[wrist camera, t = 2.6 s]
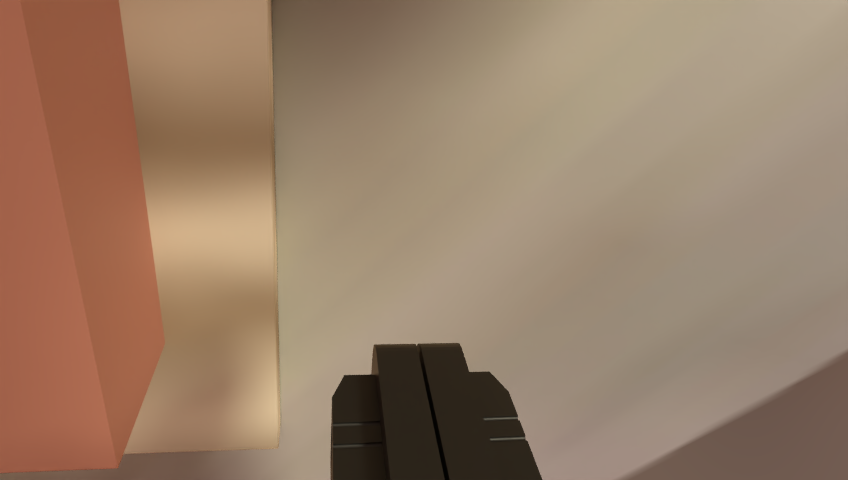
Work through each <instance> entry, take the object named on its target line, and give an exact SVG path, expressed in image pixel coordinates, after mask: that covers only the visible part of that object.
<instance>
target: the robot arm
mask: <svg viewBox="0 0 848 480" xmlns="http://www.w3.org/2000/svg"><path fill="white" fill-rule="evenodd" d="M331 480H542V478H541V475H540V473H539V470H538V467H537V465H536V462H535V459H534V457H533V454H532V452H531V449H530V446H529V444H528V441H526V440H525V433H524V431H523V428H522V426H521V423H520V420H518V415H517V412H516V410H515V407H514V405H513V402H512V399H511V397H510V394H509V392H508V391H507V390H506V389H505V388H504V386H503V385H502V384H501V383H500V382H499V381H498V380H497V379H496V378H495V377H494V376H493V375H492V374H491V373H490V372H469V370H468V367H467V364H466V360H465V357H464V354H463V351H462V348H461V346H460V344H459V343H433V344H418V345H417V346H416V344H381V345H374V348H373V358H372V374H371V375H344V377H343V379H342V381H341V382H340V384H339V386H338V388H337V390H336V391H335V393H334V395H333V397H332V423H331Z"/></svg>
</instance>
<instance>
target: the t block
mask: <svg viewBox="0 0 848 480" xmlns="http://www.w3.org/2000/svg"><path fill="white" fill-rule="evenodd" d="M164 345H165V338H164V331H163V323H162V316H161V309H160V301H159V294H158V286H157V279H156V272H155V264H154V257H153V249H152V242H151V235H150V227H149V220H148V213H147V205H146V198H145V190H144V183H143V176H142V168H141V161H140V154H139V146H138V139H137V131H136V124H135V117H134V109H133V102H132V94H131V87H130V80H129V72H128V65H127V58H126V50H125V43H124V35H123V28H122V21H121V13H120V6H119V0H0V473H12V472H37V471H62V470H87V469H112V468H118V467H119V464H120V461H121V459H122V456H123V453H124V451H125V448H126V446H127V443H128V440H129V438H130V435H131V432H132V430H133V427H134V424H135V422H136V419H137V417H138V414H139V411H140V409H141V406H142V403H143V401H144V398H145V395H146V393H147V390H148V387H149V385H150V382H151V380H152V377H153V374H154V372H155V369H156V366H157V364H158V361H159V358H160V356H161V353H162V351H163V348H164Z"/></svg>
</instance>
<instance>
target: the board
mask: <svg viewBox="0 0 848 480" xmlns="http://www.w3.org/2000/svg"><path fill="white" fill-rule="evenodd" d="M119 6H120V13H121V21H122V28H123V35H124V43H125V50H126V58H127V65H128V72H129V80H130V87H131V94H132V102H133V109H134V117H135V124H136V131H137V139H138V146H139V154H140V161H141V168H142V176H143V183H144V190H145V198H146V205H147V213H148V220H149V227H150V235H151V242H152V249H153V257H154V264H155V272H156V279H157V286H158V294H159V301H160V309H161V316H162V323H163V331H164V338H165V345H164V348H163V351H162V353H161V356H160V358H159V361H158V364H157V366H156V369H155V372H154V374H153V377H152V380H151V382H150V385H149V387H148V390H147V393H146V395H145V398H144V401H143V403H142V406H141V409H140V411H139V414H138V417H137V419H136V422H135V424H134V427H133V430H132V432H131V435H130V438H129V440H128V443H127V446H126V448H125V451H124V453H123V454H136V453H164V452H191V451H219V450H246V449H274V448H278V446H279V435H280V425H281V421H280V375H279V330H278V284H277V238H276V193H275V147H274V102H273V56H272V10H271V0H119Z"/></svg>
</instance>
